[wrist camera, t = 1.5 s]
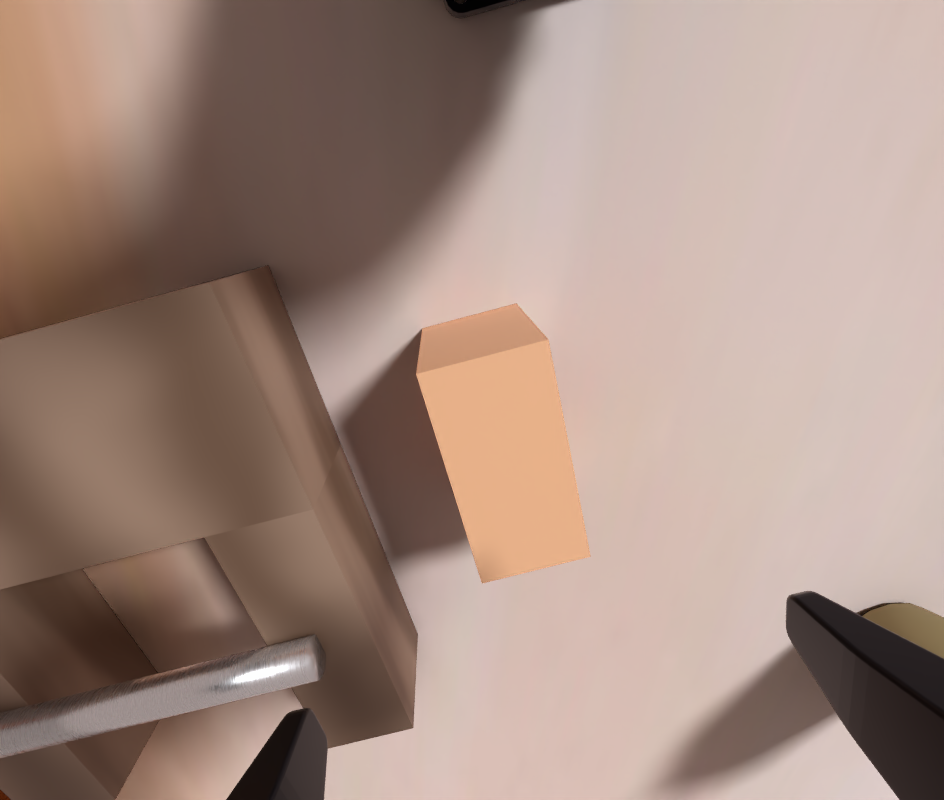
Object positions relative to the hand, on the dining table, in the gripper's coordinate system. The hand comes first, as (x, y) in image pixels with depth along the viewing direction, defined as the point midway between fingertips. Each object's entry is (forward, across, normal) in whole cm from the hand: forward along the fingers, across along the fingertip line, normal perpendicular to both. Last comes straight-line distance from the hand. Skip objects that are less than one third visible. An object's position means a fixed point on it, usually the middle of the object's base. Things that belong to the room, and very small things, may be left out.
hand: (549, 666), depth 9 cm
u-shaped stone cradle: (+13, +16, +2) cm, 20 cm away
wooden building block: (+13, 0, 0) cm, 13 cm away
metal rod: (+8, +16, +6) cm, 19 cm away
